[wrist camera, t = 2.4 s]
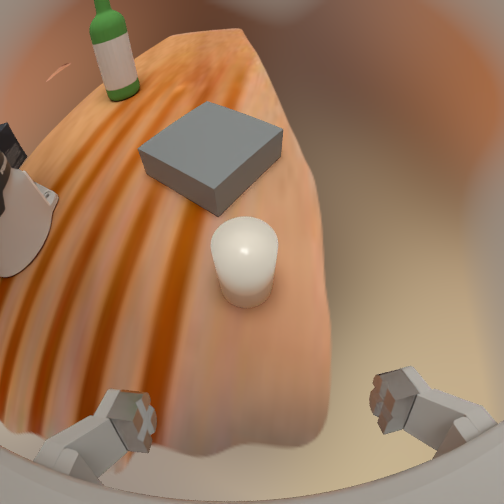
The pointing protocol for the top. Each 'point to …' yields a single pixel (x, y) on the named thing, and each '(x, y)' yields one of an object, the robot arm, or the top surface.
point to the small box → (11, 147)
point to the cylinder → (245, 260)
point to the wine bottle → (113, 52)
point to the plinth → (212, 155)
